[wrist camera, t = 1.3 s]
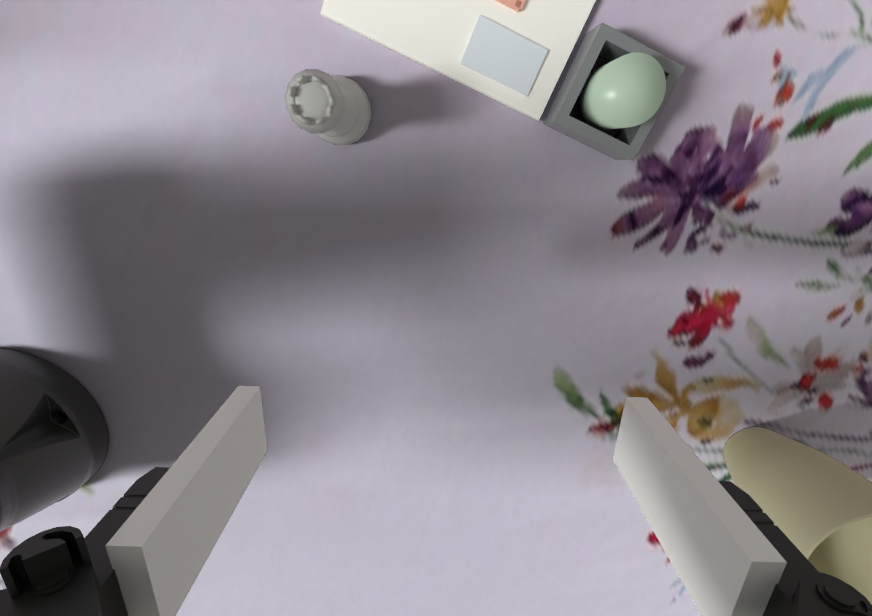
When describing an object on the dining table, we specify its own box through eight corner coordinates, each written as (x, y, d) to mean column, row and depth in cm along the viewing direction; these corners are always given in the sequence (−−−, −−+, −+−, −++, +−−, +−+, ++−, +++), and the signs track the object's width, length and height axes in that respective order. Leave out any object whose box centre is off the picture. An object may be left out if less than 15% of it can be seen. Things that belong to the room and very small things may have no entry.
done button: (568, 114, 29) (585, 110, 26) (599, 52, 28) (620, 39, 25) (619, 139, 30) (642, 138, 27) (651, 79, 29) (679, 71, 25)
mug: (676, 440, 40) (769, 553, 29) (782, 390, 38) (925, 490, 27) (717, 517, 44) (815, 646, 32) (817, 474, 42) (958, 595, 30)
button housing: (543, 123, 31) (553, 121, 28) (585, 34, 29) (602, 22, 26) (615, 159, 32) (633, 160, 29) (662, 74, 30) (685, 67, 27)
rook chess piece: (352, 158, 32) (326, 161, 24) (298, 121, 31) (253, 112, 23) (384, 102, 31) (367, 87, 23) (328, 62, 30) (291, 33, 22)
